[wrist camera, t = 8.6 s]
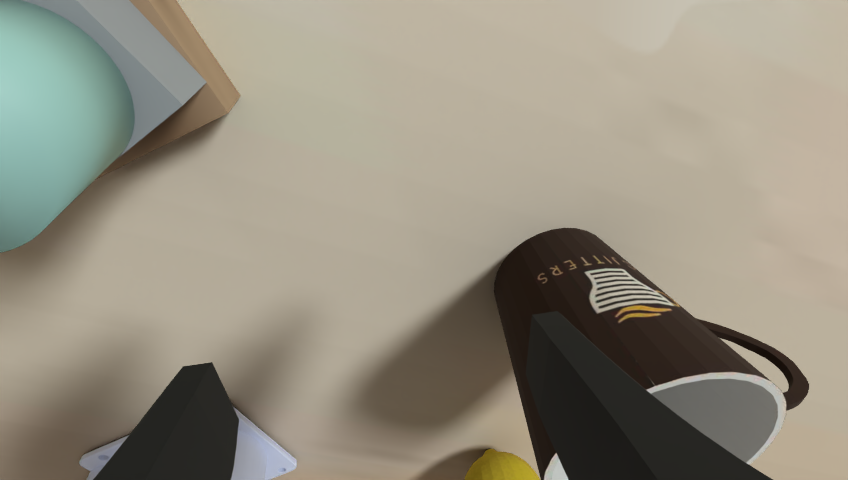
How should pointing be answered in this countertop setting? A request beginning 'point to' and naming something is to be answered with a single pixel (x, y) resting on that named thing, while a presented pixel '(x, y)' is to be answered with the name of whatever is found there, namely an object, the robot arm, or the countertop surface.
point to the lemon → (500, 467)
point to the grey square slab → (135, 57)
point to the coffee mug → (640, 343)
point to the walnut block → (218, 91)
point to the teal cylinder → (53, 117)
